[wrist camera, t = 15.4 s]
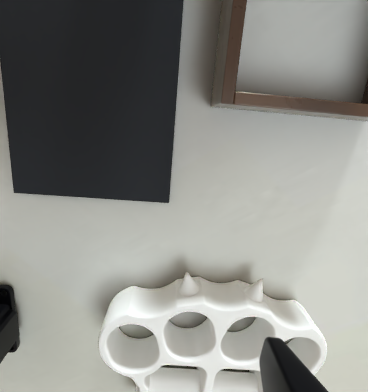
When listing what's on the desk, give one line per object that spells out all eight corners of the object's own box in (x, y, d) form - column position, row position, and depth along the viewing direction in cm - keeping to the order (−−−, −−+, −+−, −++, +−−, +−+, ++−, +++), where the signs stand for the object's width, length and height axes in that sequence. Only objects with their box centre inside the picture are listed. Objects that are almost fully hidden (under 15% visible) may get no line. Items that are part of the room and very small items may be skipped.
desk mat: (16, 191, 19) (13, 192, 19) (-25, -222, 13) (-31, -232, 13) (168, 201, 20) (168, 203, 20) (196, -184, 14) (197, -193, 13)
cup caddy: (210, 106, 18) (220, 103, 14) (232, -104, 15) (254, -180, 11) (365, 121, 19) (415, 121, 15) (419, -76, 16) (499, -139, 12)
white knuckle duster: (102, 388, 25) (111, 252, 21) (282, 398, 26) (323, 273, 22) (92, 428, 22) (100, 276, 18) (298, 437, 23) (349, 299, 19)
